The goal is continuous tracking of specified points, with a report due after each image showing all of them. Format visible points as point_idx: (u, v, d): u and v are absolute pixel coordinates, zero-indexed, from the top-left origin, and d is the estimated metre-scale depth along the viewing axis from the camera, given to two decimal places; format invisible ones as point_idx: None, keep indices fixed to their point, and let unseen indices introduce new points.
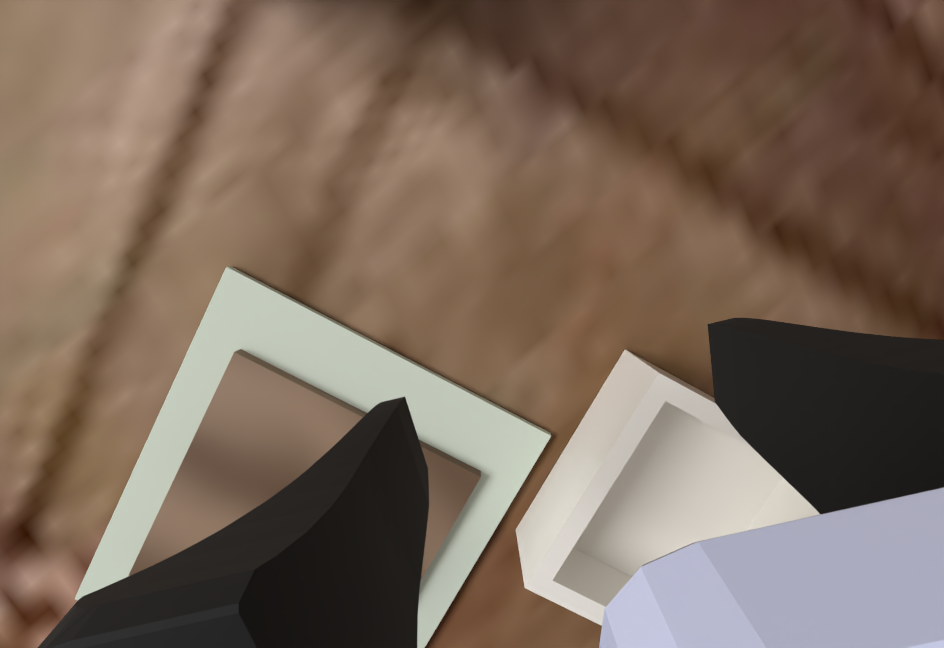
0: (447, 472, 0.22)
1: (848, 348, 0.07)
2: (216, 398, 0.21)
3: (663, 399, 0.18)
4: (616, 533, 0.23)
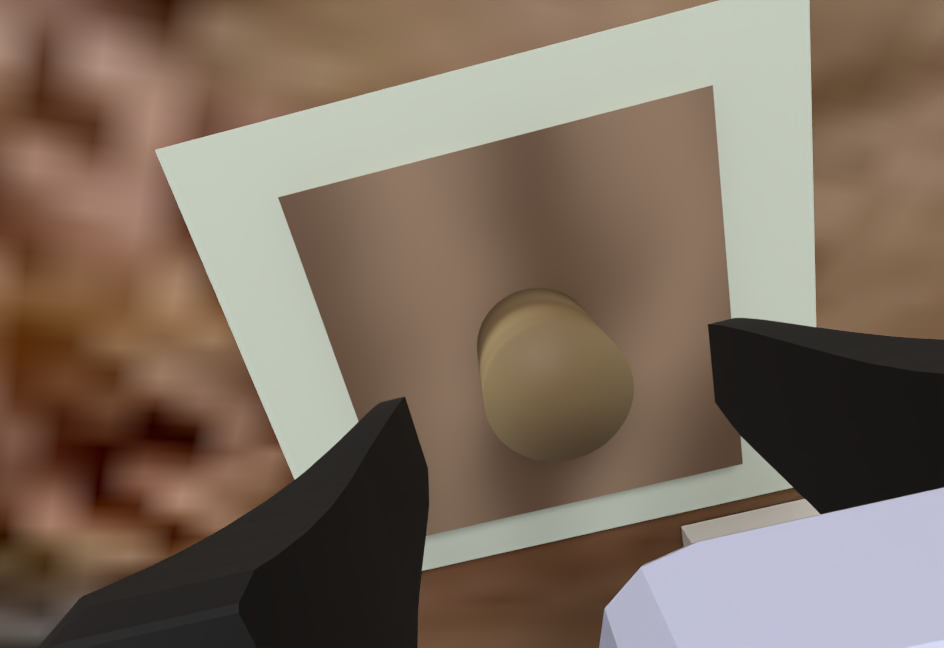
0: (724, 431, 0.16)
1: (848, 348, 0.07)
2: (629, 113, 0.13)
3: None
4: None
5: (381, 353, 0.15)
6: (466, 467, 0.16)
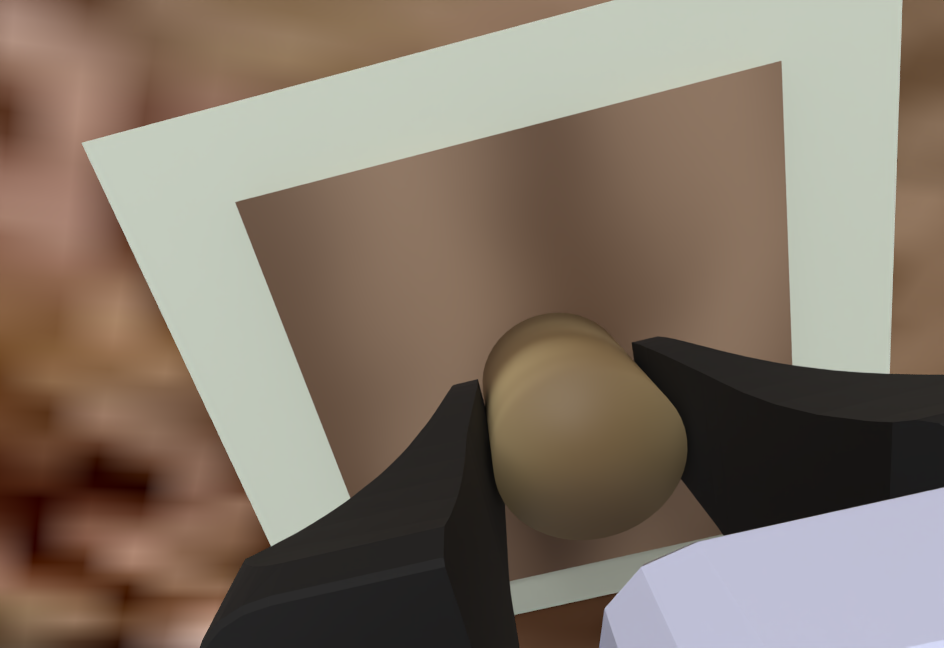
0: None
1: (735, 374, 0.08)
2: (675, 97, 0.10)
3: None
4: None
5: (366, 391, 0.12)
6: None
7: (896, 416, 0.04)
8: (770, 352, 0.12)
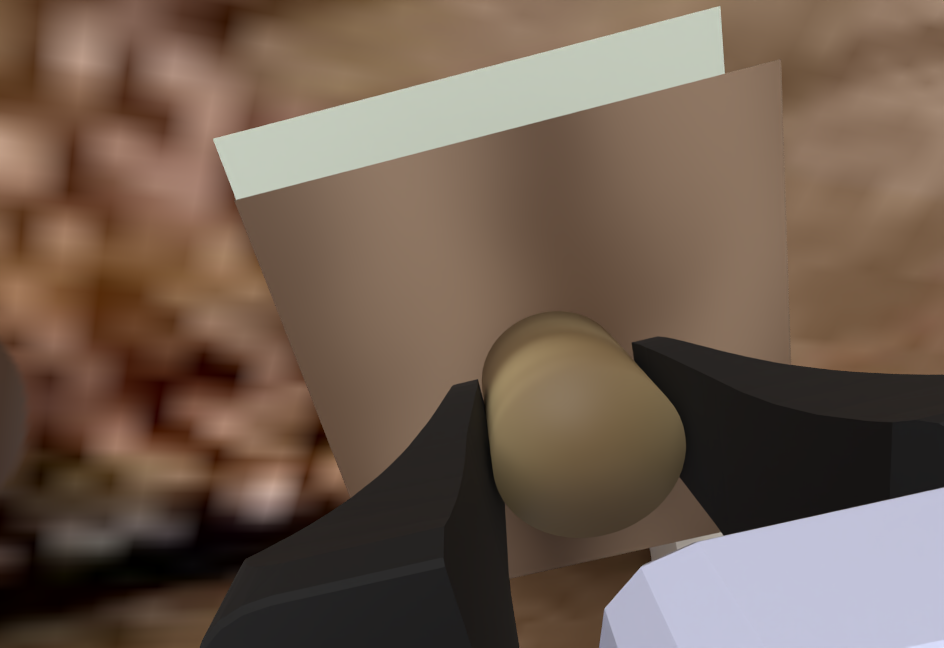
0: None
1: (735, 375, 0.08)
2: (674, 95, 0.10)
3: None
4: None
5: (366, 389, 0.12)
6: None
7: (895, 416, 0.04)
8: (769, 351, 0.12)
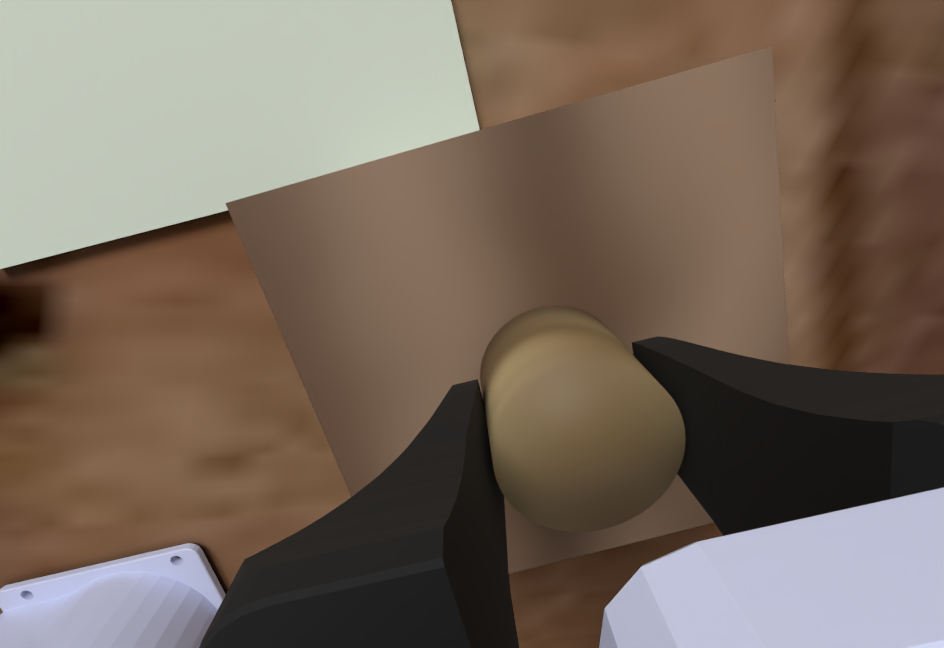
0: None
1: (735, 374, 0.08)
2: (666, 85, 0.10)
3: None
4: None
5: (365, 389, 0.12)
6: None
7: (896, 416, 0.04)
8: (766, 339, 0.12)
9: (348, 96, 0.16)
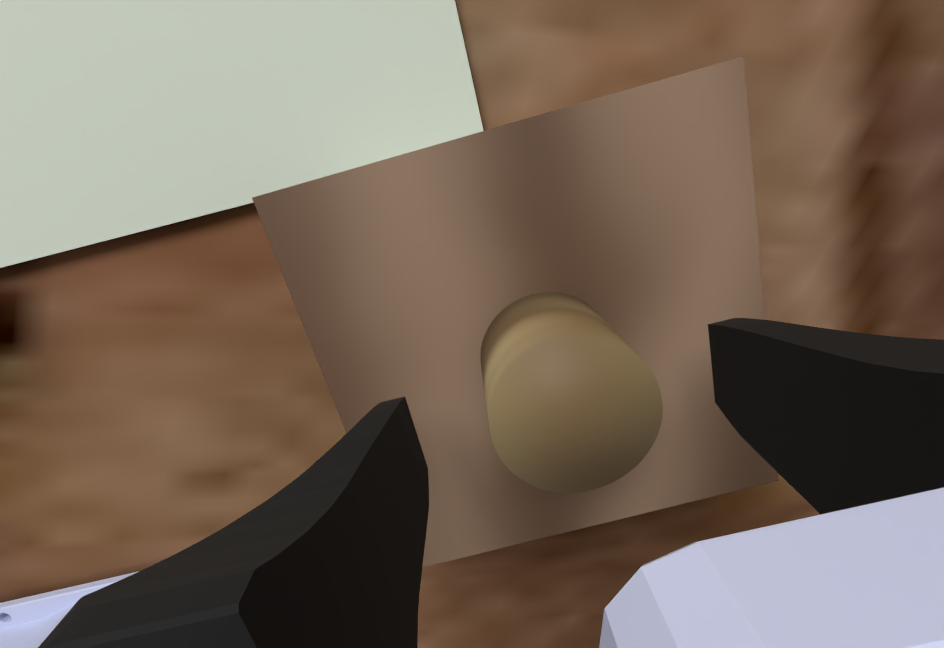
0: None
1: (848, 348, 0.07)
2: (647, 92, 0.11)
3: None
4: None
5: (374, 369, 0.13)
6: (472, 491, 0.15)
7: None
8: None
9: (341, 90, 0.15)
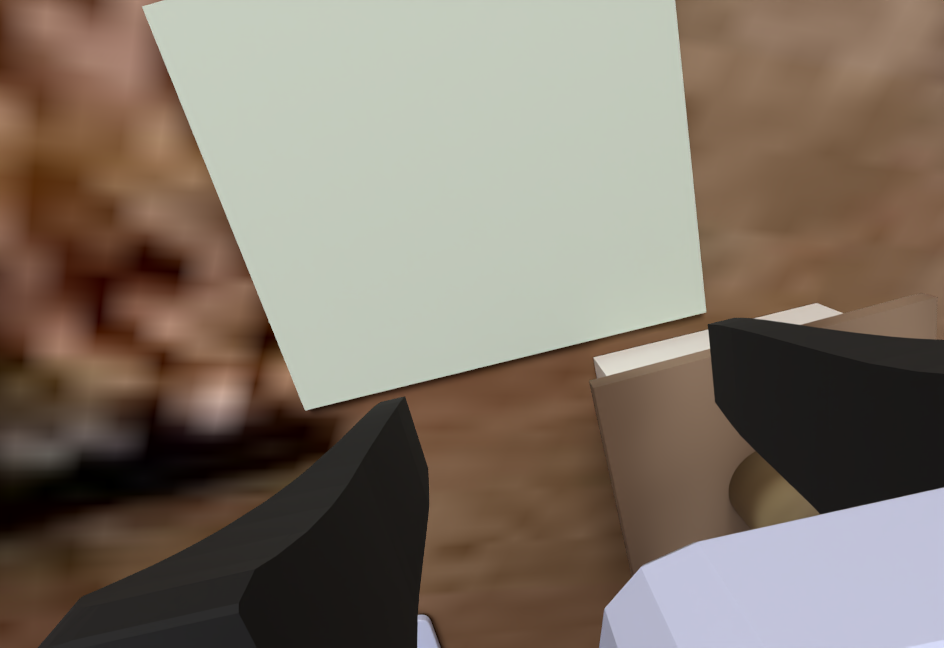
0: None
1: (848, 348, 0.07)
2: (870, 319, 0.17)
3: None
4: None
5: (654, 494, 0.19)
6: None
7: None
8: None
9: (606, 280, 0.20)
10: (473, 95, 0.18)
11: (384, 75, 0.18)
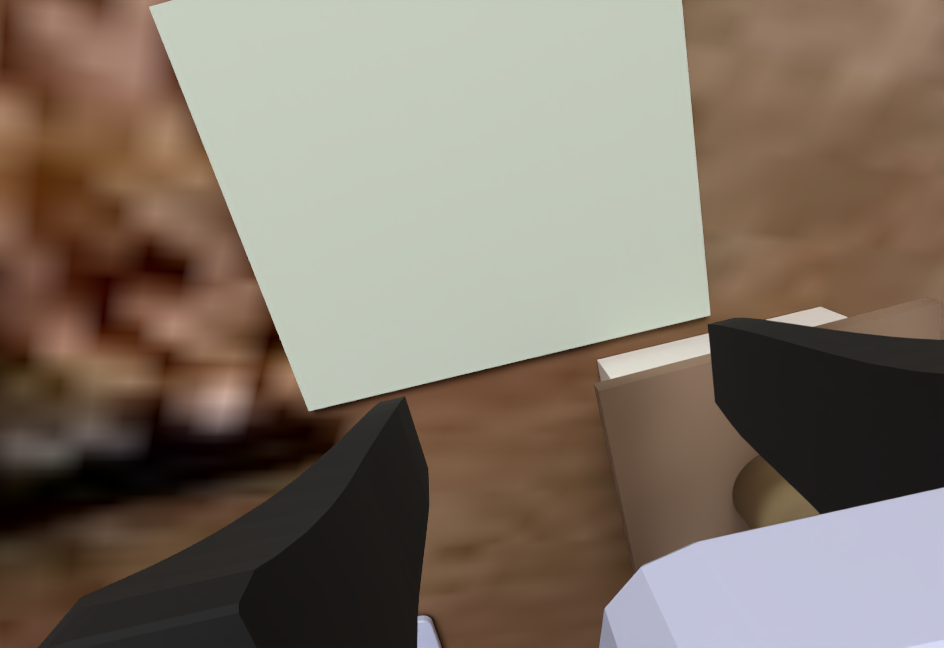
0: None
1: (848, 348, 0.07)
2: (875, 324, 0.17)
3: None
4: None
5: (658, 497, 0.19)
6: None
7: None
8: None
9: (611, 282, 0.20)
10: (479, 97, 0.18)
11: (391, 77, 0.18)
